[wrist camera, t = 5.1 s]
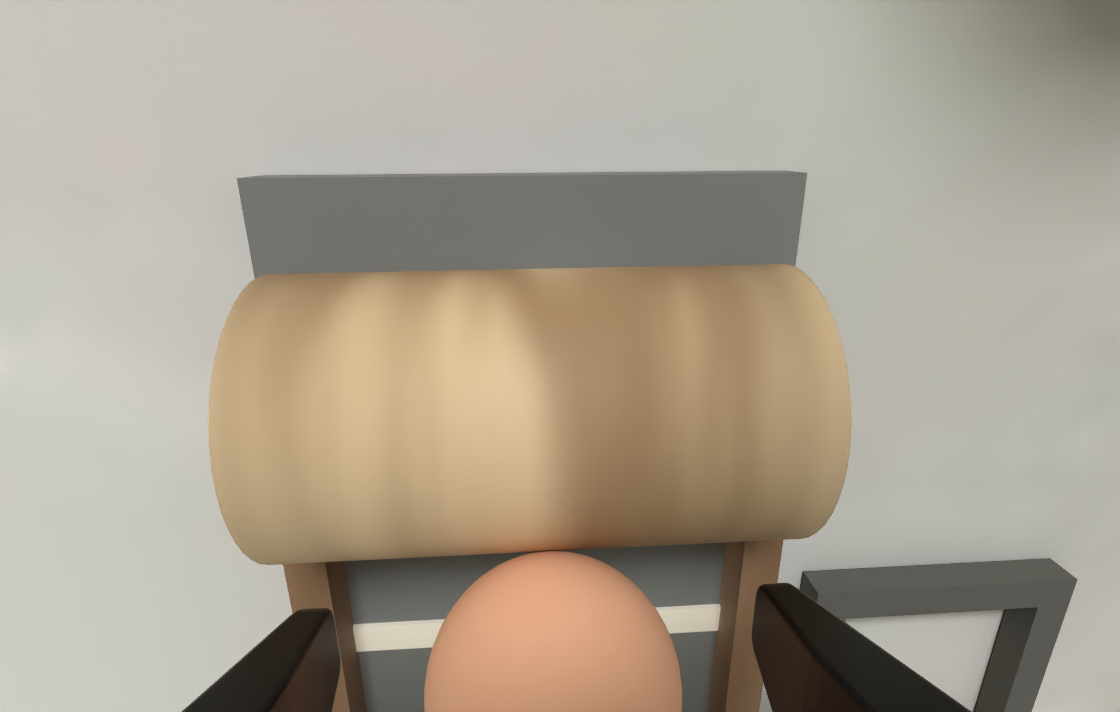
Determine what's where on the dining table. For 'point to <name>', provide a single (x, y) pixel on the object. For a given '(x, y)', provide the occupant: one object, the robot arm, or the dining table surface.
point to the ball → (553, 643)
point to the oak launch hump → (526, 411)
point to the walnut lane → (733, 654)
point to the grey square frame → (1015, 585)
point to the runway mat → (520, 243)
